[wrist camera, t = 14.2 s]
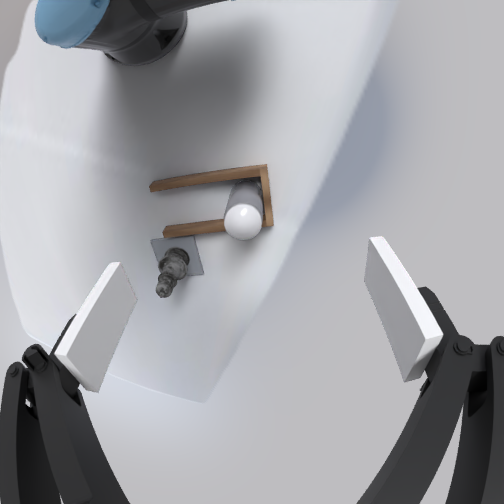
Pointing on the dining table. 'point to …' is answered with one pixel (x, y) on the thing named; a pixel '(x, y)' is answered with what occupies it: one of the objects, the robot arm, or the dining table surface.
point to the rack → (207, 178)
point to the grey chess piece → (171, 270)
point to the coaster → (184, 243)
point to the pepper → (244, 210)
